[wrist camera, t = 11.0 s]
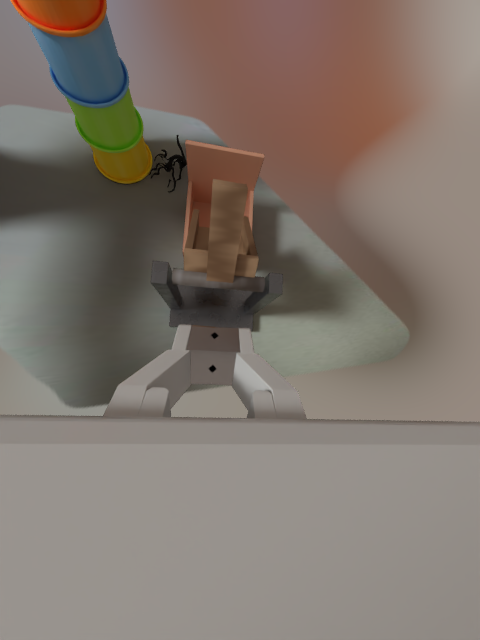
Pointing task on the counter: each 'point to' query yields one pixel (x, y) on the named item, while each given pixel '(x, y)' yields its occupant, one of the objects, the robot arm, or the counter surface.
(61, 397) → the counter surface
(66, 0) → the stacking cups
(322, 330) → the counter surface
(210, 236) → the lever
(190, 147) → the cup
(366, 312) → the counter surface
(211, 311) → the lever stand
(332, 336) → the counter surface
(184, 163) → the creature
